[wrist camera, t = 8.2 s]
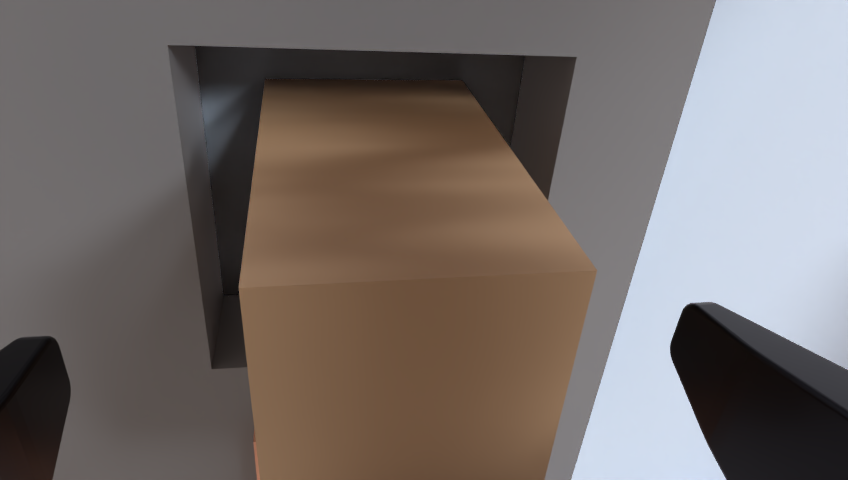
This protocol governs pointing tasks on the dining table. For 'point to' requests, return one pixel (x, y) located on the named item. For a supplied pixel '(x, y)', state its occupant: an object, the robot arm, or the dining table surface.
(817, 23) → the dining table surface
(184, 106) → the socket plate
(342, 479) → the plug
